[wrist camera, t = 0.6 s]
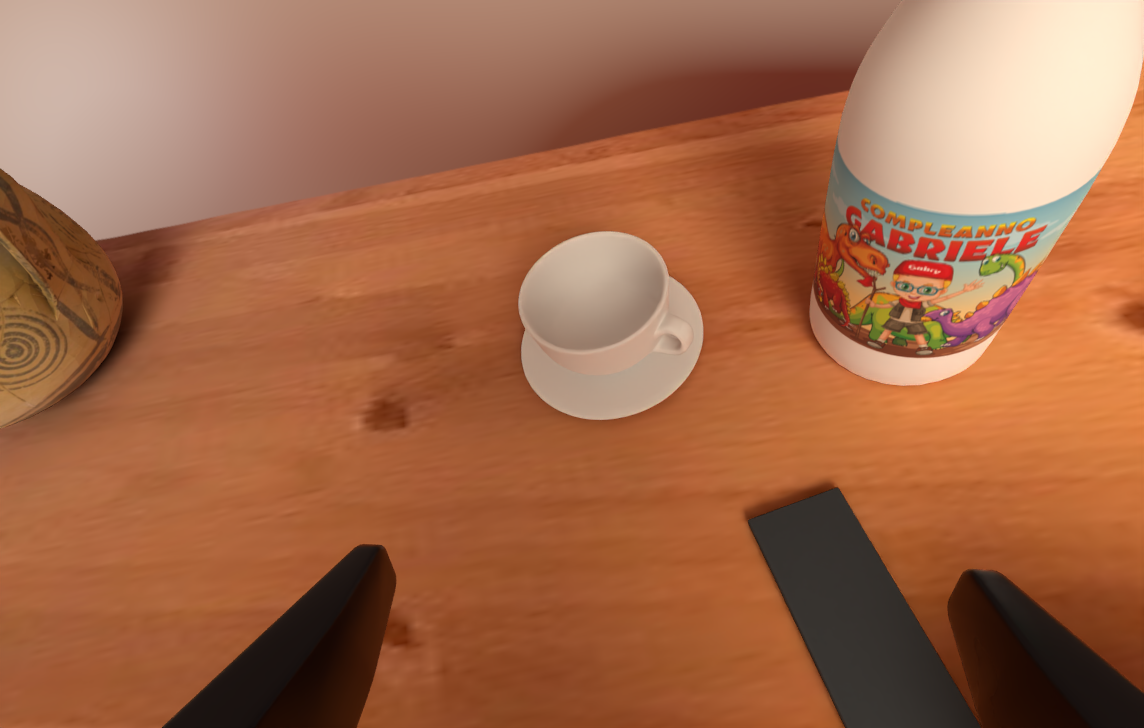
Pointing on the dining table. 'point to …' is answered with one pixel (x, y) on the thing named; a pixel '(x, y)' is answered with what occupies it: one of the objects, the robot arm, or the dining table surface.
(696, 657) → the dining table surface
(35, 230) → the ceramic bowl
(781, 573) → the strip
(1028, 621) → the robot arm
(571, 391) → the teacup
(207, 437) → the dining table surface
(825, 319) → the milk bottle
